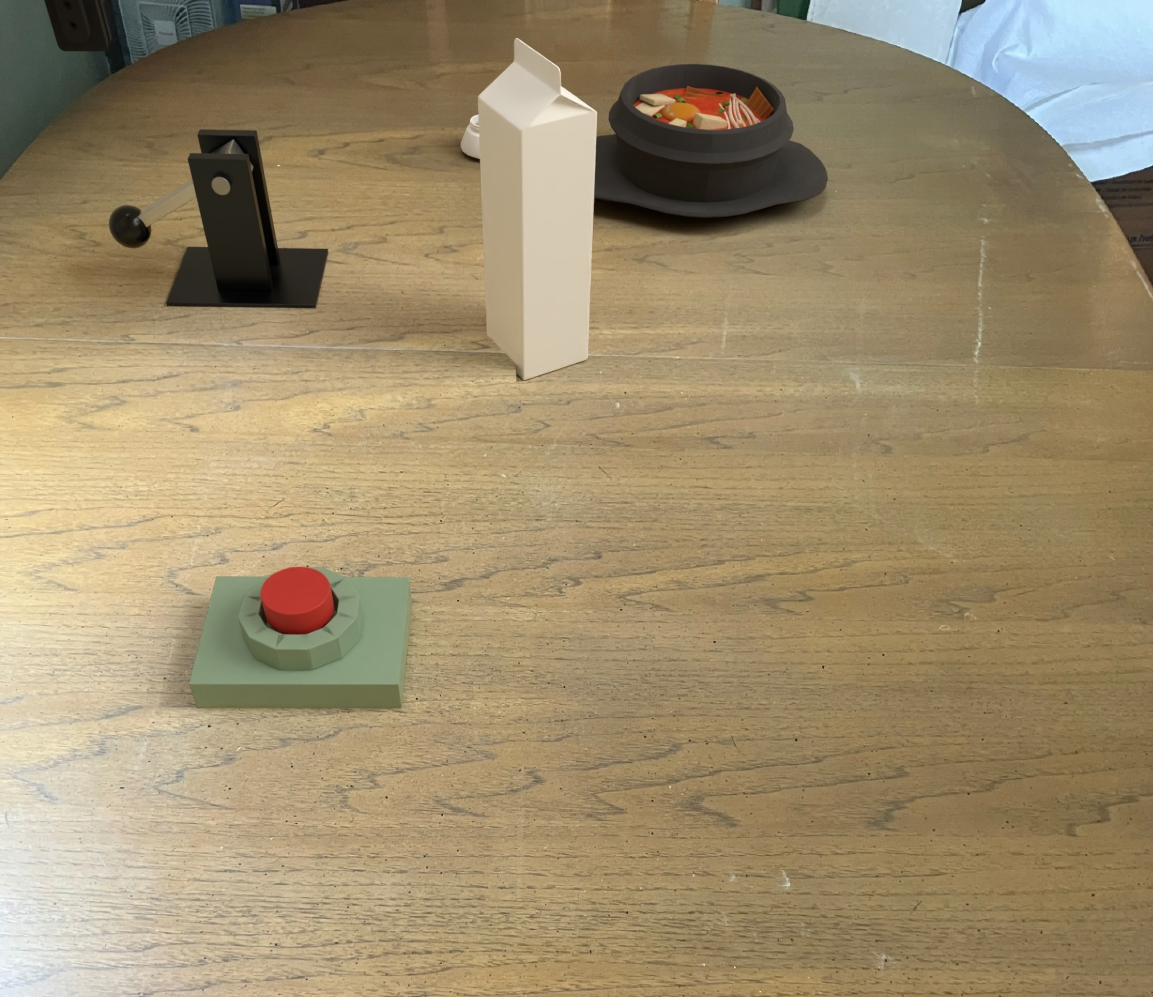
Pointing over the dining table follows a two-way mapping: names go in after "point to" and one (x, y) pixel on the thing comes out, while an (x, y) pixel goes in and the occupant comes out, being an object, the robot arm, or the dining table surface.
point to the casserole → (703, 145)
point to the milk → (537, 214)
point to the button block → (305, 648)
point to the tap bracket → (241, 236)
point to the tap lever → (155, 210)
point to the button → (297, 600)
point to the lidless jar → (472, 138)
